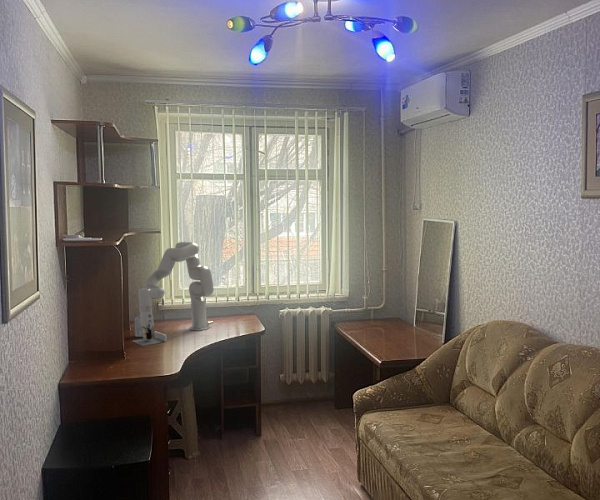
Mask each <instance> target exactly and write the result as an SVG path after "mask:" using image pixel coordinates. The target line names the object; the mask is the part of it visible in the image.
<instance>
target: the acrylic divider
mask: <svg viewBox="0 0 600 500" xmlns="http://www.w3.org/2000/svg"><path fill="white" fill-rule="evenodd" d="M153 333H154V335H153V336H154V337H153V338H155V339H158V340H160V341H162V342H163V343H166V342H168V337H167V334H164V333H162V332H159V331H157V330H153Z"/></svg>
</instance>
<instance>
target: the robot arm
mask: <svg viewBox="0 0 600 500" xmlns="http://www.w3.org/2000/svg"><path fill="white" fill-rule="evenodd" d="M199 251H200V249H199V245H198V244H197V243H196V242H192V241H190V242H189V241H179V242H177V243H176V244H175V247H170V248H166V250H165V251H164V253H163V254H162V257H161V260H160V262H159V265H158V267H157V268H156V269H155V271H154V272H152V274H151V275H150V276H149V277H148V278H147V280H146V282H145V284H144V287H142V288H139V289H138V308H139V309H138V310H139V312H140V313H139V314H140V315H139V317H140V323H141V326H142V332H143V328H146V330H147V333H146V337H147V339H152V337H153V335H152V330H153V329H154V328H153V327H155V323H154V316H153V300H154V299H155V300H157V299H159V300H160V299H162V298H163V297H164V296H165V294H166V293H165V292H166V291H165V289H164V288H163V287H162V286H159V285H157V284H158V283H159V282H160V281H162V280H163V279H164V278H166V277H168V276H170V275H171V273H172V272H173V268H175V267H174V266H175V264H176V263H177V262H178V263H180V262H184V261H185V262H186V263H185V264H186V267H187V273H188V277H189V279H191V280H193V281H192V282H190V284H189V286H188V293H189V297H190V306H191V308H190V309H191V326H190V327H189V330H191V331H205V330H208V329H210V326H209V325H214V321H213V320H212V321H211V320H210V321H209V320H207V305H206V304H207V302H206V299H205V297H211V296H212V295H213V293H214V282H213V281H214V280H213V277H212V276H213V275H212V272H211V269H210V267H208V266H206V265H201V261H200V258H199V255H198V253H199ZM148 326H149V327H148ZM148 328H149V329H148Z"/></svg>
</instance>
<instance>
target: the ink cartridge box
mask: <svg viewBox="0 0 600 500" xmlns="http://www.w3.org/2000/svg"><path fill="white" fill-rule="evenodd" d="M148 327H149V326H148ZM153 333H154V330H153V329H152V336H154V335H153ZM134 334H135V335H134V337H135V338H136V337H139V338H143V332H142V326H141V323H140V316H136V317H134Z"/></svg>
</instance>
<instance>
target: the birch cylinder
mask: <svg viewBox="0 0 600 500" xmlns="http://www.w3.org/2000/svg"><path fill="white" fill-rule="evenodd" d="M148 329H149V328H148ZM146 333H147V330H146V328H143V337H142V339H143V340H151V339H147V337H146Z"/></svg>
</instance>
